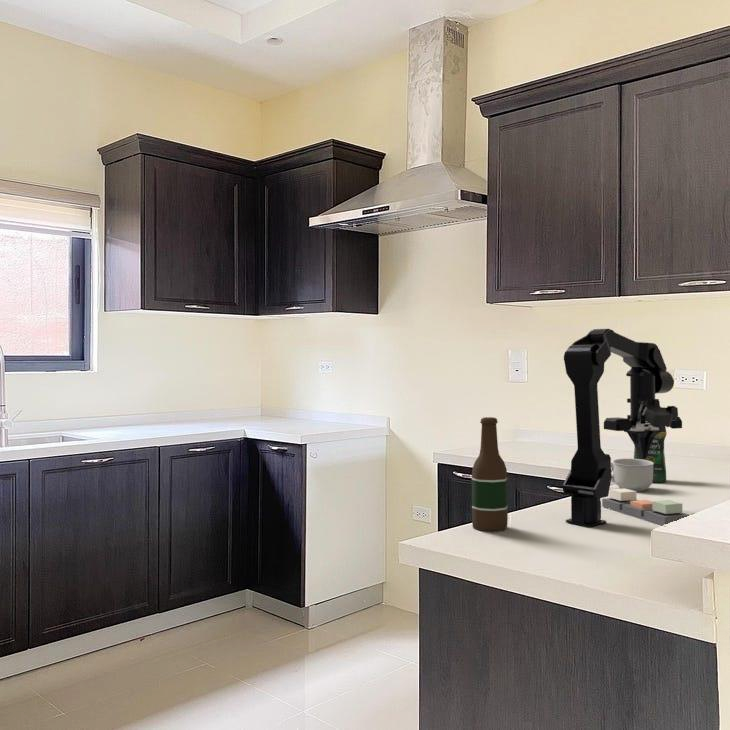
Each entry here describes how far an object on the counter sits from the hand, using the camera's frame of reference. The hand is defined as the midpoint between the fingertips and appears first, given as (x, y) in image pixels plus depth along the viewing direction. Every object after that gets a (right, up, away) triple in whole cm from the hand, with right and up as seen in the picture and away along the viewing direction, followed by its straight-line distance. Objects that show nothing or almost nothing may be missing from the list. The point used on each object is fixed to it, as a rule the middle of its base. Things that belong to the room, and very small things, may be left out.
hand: (643, 458), depth 182 cm
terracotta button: (-3, -11, -8) cm, 14 cm away
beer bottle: (-41, -13, -20) cm, 47 cm away
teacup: (+5, -12, +27) cm, 30 cm away
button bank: (-3, -12, -8) cm, 15 cm away
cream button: (-5, -10, -1) cm, 11 cm away
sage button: (-1, -10, -16) cm, 19 cm away
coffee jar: (+17, -12, +40) cm, 45 cm away
